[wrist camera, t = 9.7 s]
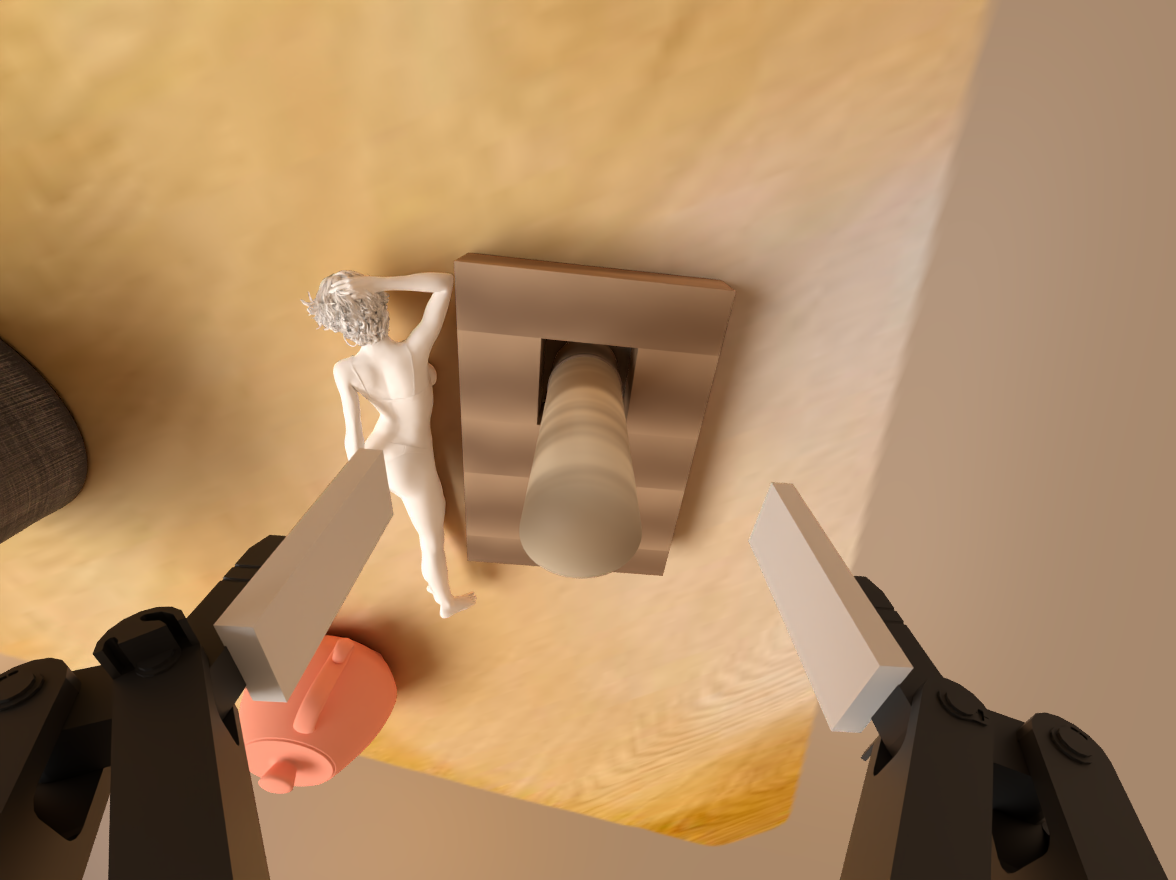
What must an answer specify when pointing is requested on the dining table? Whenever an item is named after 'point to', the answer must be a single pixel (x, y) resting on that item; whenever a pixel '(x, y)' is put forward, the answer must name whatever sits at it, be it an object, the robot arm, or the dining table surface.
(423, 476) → the figurine
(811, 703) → the dining table surface
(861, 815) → the robot arm
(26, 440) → the planter
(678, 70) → the dining table surface
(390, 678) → the sugar bowl
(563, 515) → the leg
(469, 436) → the board
